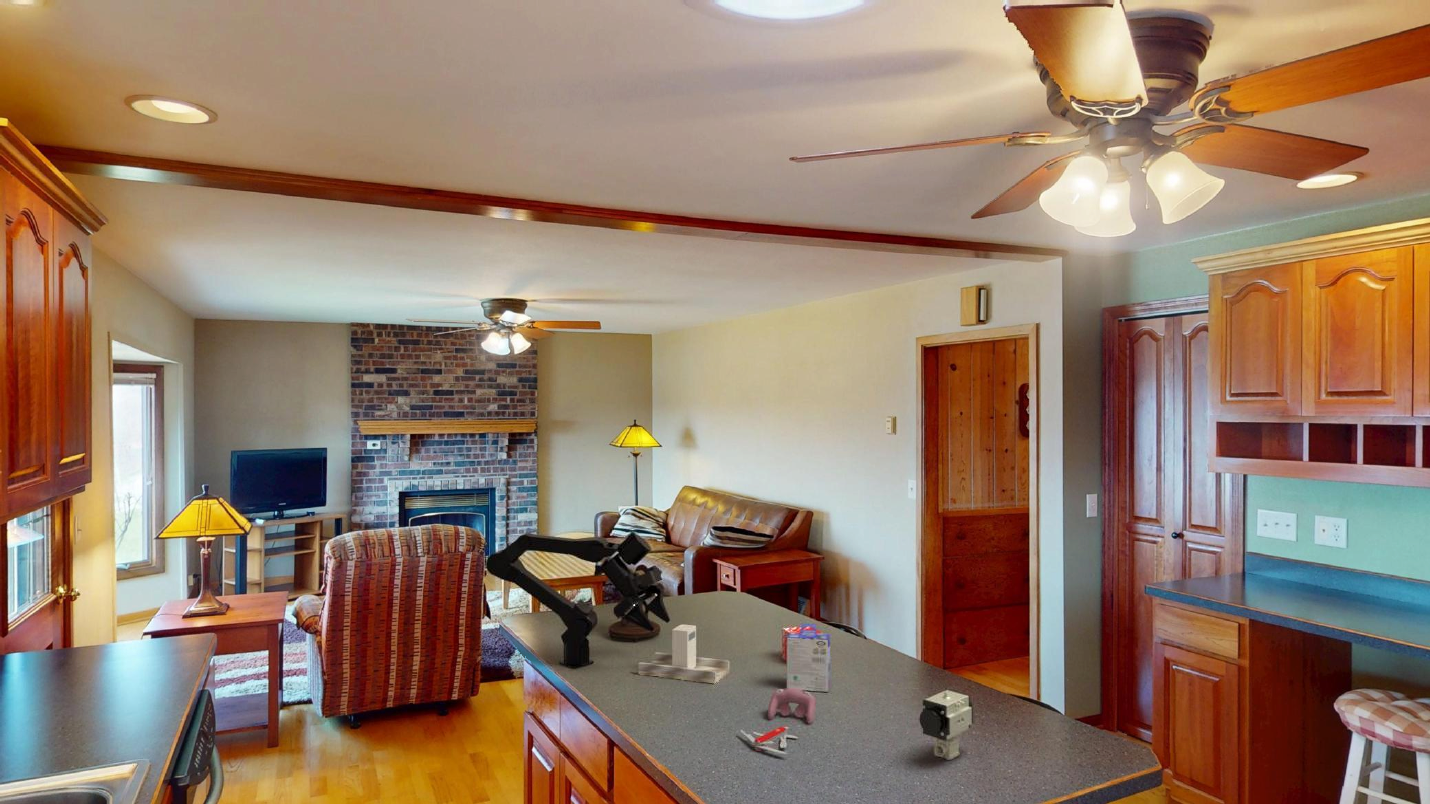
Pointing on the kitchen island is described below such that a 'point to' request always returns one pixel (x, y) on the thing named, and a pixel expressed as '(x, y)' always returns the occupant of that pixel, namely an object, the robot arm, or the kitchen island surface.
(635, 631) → the wooden figurine
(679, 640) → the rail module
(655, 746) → the kitchen island surface
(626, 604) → the robot arm
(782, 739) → the swiss army knife
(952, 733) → the pneumatic valve
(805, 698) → the video game controller
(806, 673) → the ink cartridge box
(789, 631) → the red patterned cube
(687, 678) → the mounting rail
